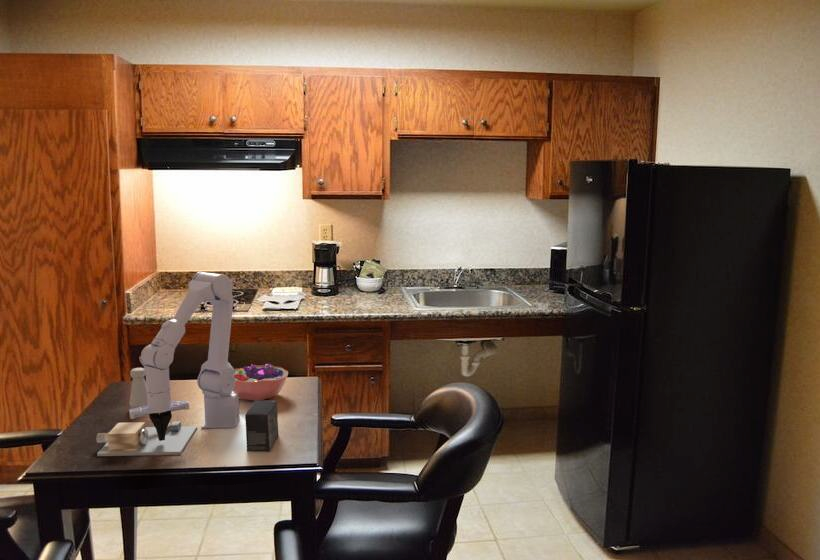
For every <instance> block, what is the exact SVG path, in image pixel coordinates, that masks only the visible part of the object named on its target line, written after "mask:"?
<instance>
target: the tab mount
mask: <svg viewBox="0 0 820 560" xmlns="http://www.w3.org/2000/svg"><path fill="white" fill-rule="evenodd" d="M171 423H172V424H171V425H170V429H171V432H178V431H179V430H180V429H181V427H182V424H181V423H182V421H181V420H179V421H178V420H174V421H172V422H171Z"/></svg>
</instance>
